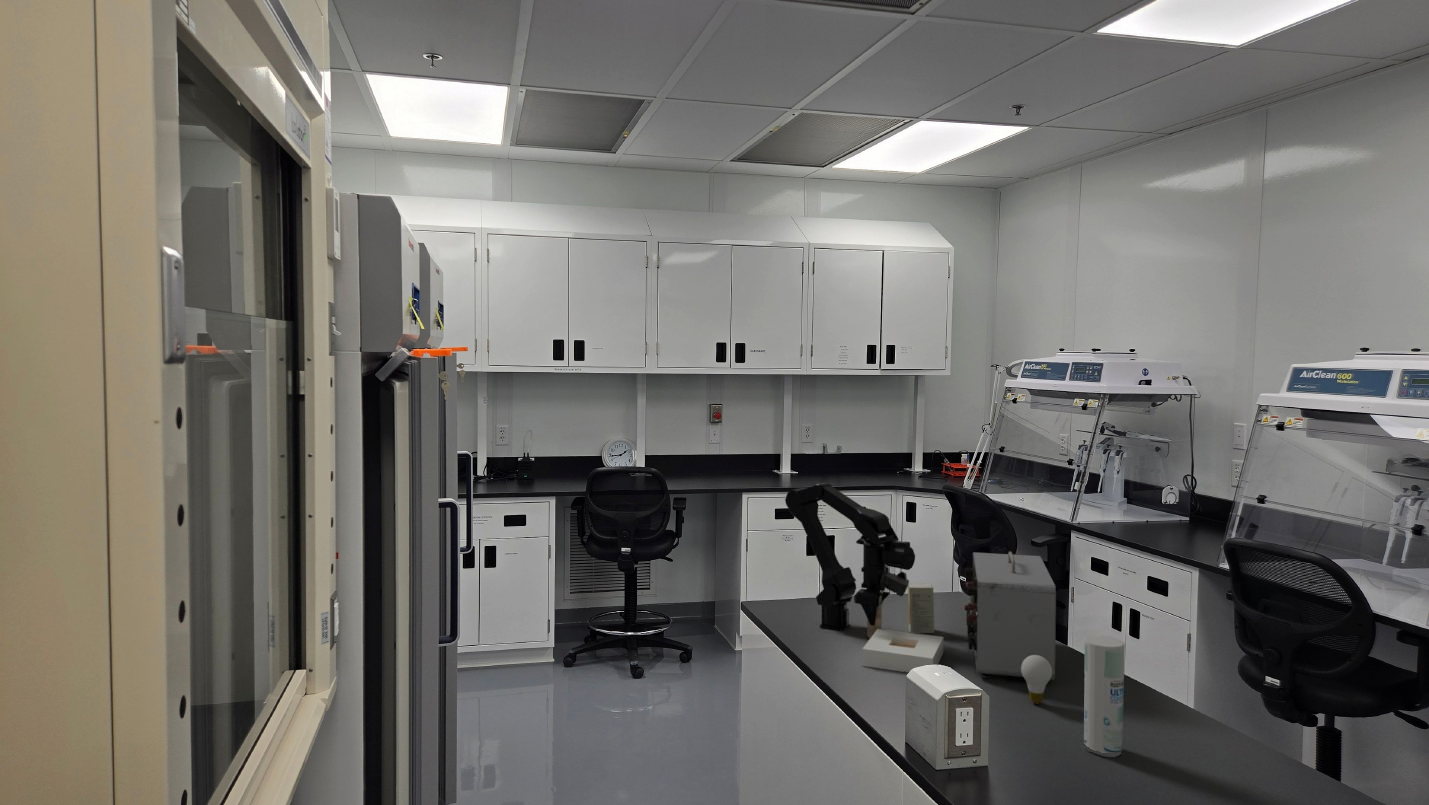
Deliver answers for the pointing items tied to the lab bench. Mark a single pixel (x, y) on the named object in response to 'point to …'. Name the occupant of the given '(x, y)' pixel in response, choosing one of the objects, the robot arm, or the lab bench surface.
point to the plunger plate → (904, 646)
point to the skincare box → (920, 608)
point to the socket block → (901, 650)
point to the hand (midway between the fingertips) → (874, 623)
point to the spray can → (1103, 693)
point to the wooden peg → (878, 623)
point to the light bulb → (1036, 676)
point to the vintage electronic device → (1010, 612)
